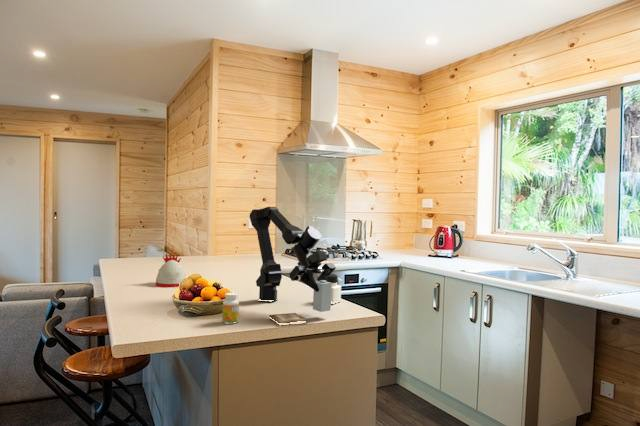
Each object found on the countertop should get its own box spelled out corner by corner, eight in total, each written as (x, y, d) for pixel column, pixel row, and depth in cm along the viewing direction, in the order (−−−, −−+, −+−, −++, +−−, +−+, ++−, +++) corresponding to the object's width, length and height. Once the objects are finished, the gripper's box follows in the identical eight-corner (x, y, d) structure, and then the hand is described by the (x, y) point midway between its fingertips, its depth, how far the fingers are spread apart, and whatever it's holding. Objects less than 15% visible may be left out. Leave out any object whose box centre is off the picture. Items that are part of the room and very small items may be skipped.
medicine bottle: (340, 302, 197) (342, 274, 197) (332, 305, 191) (334, 276, 191) (326, 300, 201) (327, 272, 200) (317, 302, 194) (319, 274, 194)
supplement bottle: (219, 321, 157) (220, 293, 157) (232, 319, 161) (233, 291, 161) (227, 325, 154) (229, 296, 153) (241, 322, 157) (242, 294, 157)
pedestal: (279, 326, 155) (280, 321, 155) (269, 319, 164) (269, 314, 164) (306, 323, 160) (307, 319, 160) (295, 316, 168) (295, 312, 168)
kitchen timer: (154, 282, 224) (155, 251, 224) (183, 281, 230) (184, 251, 230) (157, 288, 212) (158, 255, 211) (188, 286, 217) (189, 254, 217)
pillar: (312, 309, 169) (314, 280, 168) (322, 307, 172) (323, 279, 171) (321, 311, 165) (322, 282, 165) (330, 310, 168) (331, 281, 168)
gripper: (295, 243, 165) (315, 279, 157) (333, 242, 178) (353, 275, 170) (281, 262, 171) (299, 298, 163) (319, 260, 184) (337, 292, 176)
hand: (323, 290), depth 168 cm, fingers closed on pillar, 4 cm apart
